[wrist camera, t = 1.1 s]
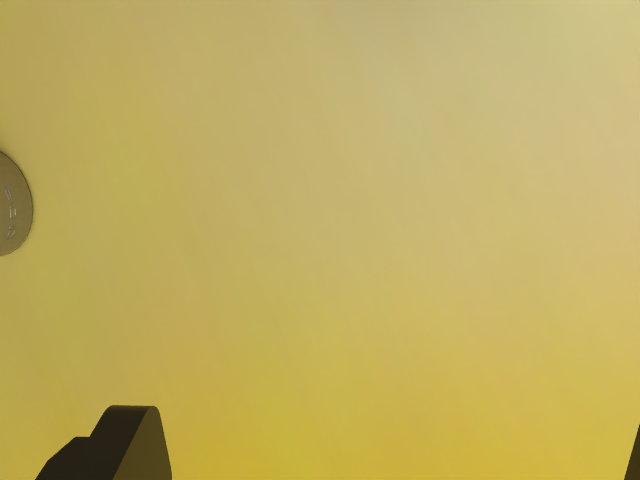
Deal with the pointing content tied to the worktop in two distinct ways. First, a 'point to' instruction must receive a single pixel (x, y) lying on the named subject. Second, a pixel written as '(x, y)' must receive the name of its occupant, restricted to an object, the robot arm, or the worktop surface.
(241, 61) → the worktop surface
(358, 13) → the worktop surface
